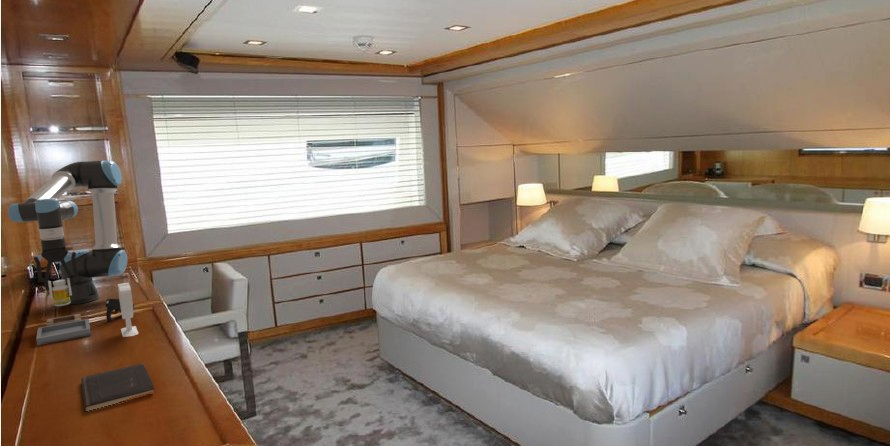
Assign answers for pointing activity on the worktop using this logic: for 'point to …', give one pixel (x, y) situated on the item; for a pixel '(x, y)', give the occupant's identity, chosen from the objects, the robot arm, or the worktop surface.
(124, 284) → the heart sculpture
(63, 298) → the supplement bottle
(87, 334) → the tray
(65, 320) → the socket block
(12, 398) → the worktop surface
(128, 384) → the hardcover book
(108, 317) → the gun
